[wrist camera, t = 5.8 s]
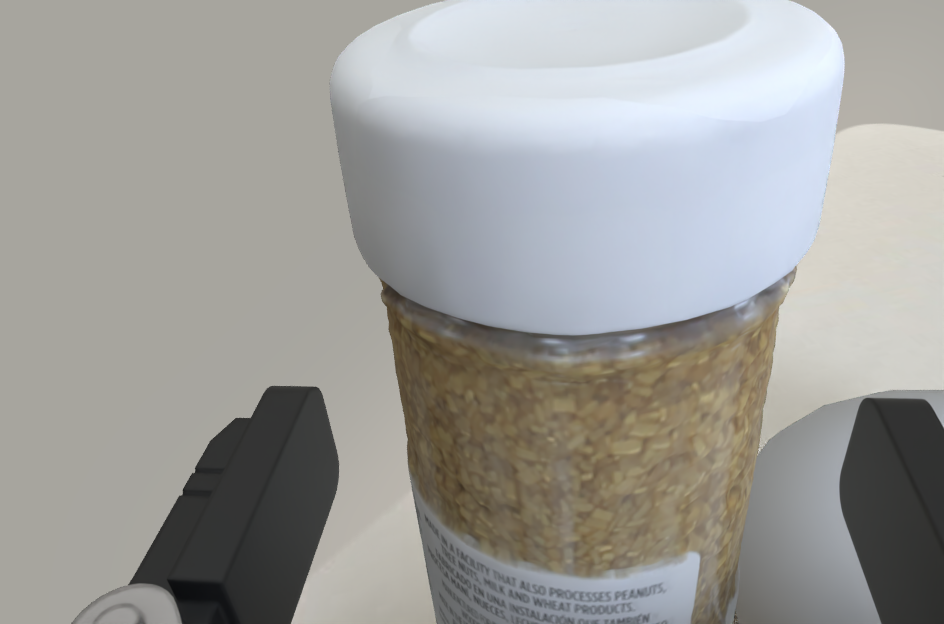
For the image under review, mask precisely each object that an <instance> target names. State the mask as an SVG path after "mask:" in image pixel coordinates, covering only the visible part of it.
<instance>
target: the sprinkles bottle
mask: <svg viewBox="0 0 944 624" xmlns="http://www.w3.org/2000/svg"><path fill="white" fill-rule="evenodd" d="M844 63H845V59H844V53H843V47H842V43H841V41H840V39H839V37H838V35H837V33H836V31H835V30H834V29H833V28H832V27H831V26H830V25H829V24H828V23H827V22H826V21H825V20H824V19H822V18H821V17H820V16H819V15H817V14H816V13H815V12H814V11H812V10H810V9H808V8H806V7H804V6H802V5H800V4H798V3H795V2H792V1H789V0H446V1H442V2H438V3H434V4H431V5H427V6H424V7H421V8H418V9H415V10H412V11H409V12H406V13H403V14H400V15H398V16H395V17H393V18H391V19H389V20H387V21H385V22H382V23H380V24H378V25H376V26H374V27H372V28H371V29H369V30H368V31H366V32H364V33H363V34H361V35H359V36H358V37H357V38H356V39H355V40H354V41H352V43H350V44H349V45H348V46H347V47H346V48H345V49H344V51H343V52H342V53H341V54H340V55H339V57H338V58H337V60H336V63H335V65H334V67H333V71H332V74H331V79H330V100H331V106H332V114H333V119H334V127H335V133H336V139H337V146H338V152H339V158H340V164H341V169H342V175H343V180H344V186H345V192H346V197H347V202H348V208H349V213H350V218H351V223H352V228H353V233H354V238H355V240H356V243H357V245H358V248H359V250H360V252H361V254H362V256H363V258H364V260H365V261H366V263H367V264H368V266H369V267H370V269H371V270H372V271H373V272H374V273H375V274H376V275H377V276H378V277H379V279H380V280H381V282H382V286H383V290H382V292H381V298H382V301H383V303H384V304H385V305H386V306H387V314H388V320H389V332H390V335H391V339H392V343H393V351H394V359H395V367H396V374H397V378H398V384H399V389H400V396H401V402H402V406H403V412H404V417H405V425H406V433H407V437H408V444H407V454H408V468H409V474H410V480H411V485H412V491H413V496H414V502H415V507H416V513H417V518H418V524H419V529H420V534H421V539H422V544H423V550H424V556H425V562H426V567H427V573H428V579H429V584H430V590H431V595H432V600H433V605H434V611H435V616H436V621H437V624H733V621H734V615H735V610H736V604H737V599H738V594H739V580H740V570H739V563H738V561H739V556H740V551H741V542H742V538H743V532H744V527H745V521H746V515H747V510H748V506H749V499H750V492H751V487H752V483H753V474H754V470H755V465H756V459H757V454H758V448H759V443H760V435H761V427H762V417H763V407H764V404H765V400H766V394H767V386H768V382H769V378H770V375H771V369H772V363H773V351H774V348H775V340H776V327H777V324H778V311H779V306H780V305H781V304H782V303H783V301H784V299H785V297H786V295H787V293H788V291H789V288H790V286H791V285H792V283H793V282H794V279H795V275H796V270H797V269H796V265H797V264H798V262H799V261H800V260H801V259H802V258H803V256H804V255H805V254H806V253H807V252H808V250H809V248H810V247H811V245H812V243H813V241H814V239H815V236H816V233H817V230H818V227H819V224H820V219H821V213H822V208H823V202H824V197H825V191H826V186H827V180H828V175H829V169H830V164H831V158H832V153H833V147H834V140H835V133H836V126H837V120H838V113H839V105H840V99H841V93H842V86H843V79H844V65H845V64H844Z"/></svg>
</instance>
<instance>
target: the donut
mask: <svg viewBox="0 0 944 624" xmlns="http://www.w3.org/2000/svg"><path fill="white" fill-rule="evenodd" d="M865 398H915V399H925V400H926V401H928V402H929V403H930V405H931V406H932V408H933V409H934V411H935V413H936V415H937V417H938V418H939V420H940V422H941V424H942V426H943V427H944V390H891V391H884V392H878V393H874V394H870V395H866V396H861V397H857V398H853V399H849V400H844V401H840V402H836V403H832V404H827V405H824V406H822V407H820V408H819V409H817V410H815V411H814V412H812V413H810V414H809V415H807V416H805V417H803V418H802V419H800V420H798V421H797V422H795V423H793V424H792V425H790V426H788V427H787V428H785V429H783V430H782V431H780V432H779V433H778V434H776V435H775V436H774V437H773V438H771V439H770V440H769V441H768V442H767V444H766V445H765V446H764V448H763V449H762V450H761V452H760V453H759V455H758V456H757V459H756V465H755V470H754V474H753V483H752V487H751V492H750V499H749V506H748V510H747V515H746V521H745V527H744V532H743V538H742V542H741V551H740V556H739V561H738V563H739V570H740V580H739V594H738V599H737V604H736V613H737V618H738V622H739V624H881V621H880V618H879V615H878V613H877V610H876V607H875V604H874V601H873V598H872V596H871V593H870V590H869V587H868V584H867V582H866V579H865V576H864V573H863V570H862V568H861V565H860V562H859V559H858V556H857V553H856V551H855V548H854V545H853V542H852V539H851V537H850V534H849V531H848V528H847V525H846V522H845V520H844V517H843V513H842V509H841V504H840V494H839V481H840V473H841V469H842V465H843V462H844V458H845V455H846V451H847V447H848V444H849V440H850V437H851V433H852V429H853V426H854V422H855V419H856V415H857V412H858V408H859V405H860V403H861V402H862V400H863V399H865Z"/></svg>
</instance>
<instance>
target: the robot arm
mask: <svg viewBox="0 0 944 624" xmlns="http://www.w3.org/2000/svg"><path fill="white" fill-rule="evenodd" d="M338 478H339V461H338V454H337V450H336V446H335V442H334V439H333V434H332V431H331V426H330V422H329V419H328V415H327V411H326V407H325V403H324V399H323V395H322V393H321V391H320V390H319V388H317V387H301V386H299V387H298V386H271V387H269V388H267V390H266V391H265V392H264V394H263V396H262V398H261V400H260V401H259V403H258V405H257V407H256V409H255V411H254V413H253V415H252V417H251V418H235V419H234V420H233V421H232V422H231V423H230V424H229V425H228V426H227V427H225V428H224V429H223V430H222V431H221V432H220V433H219V434H218V435H216V436H215V437H214V438H213V439H212V440H211V441H210V443H209V444H208V446H207V448H206V450H205V452H204V453H203V455H202V457H201V458H200V460H199V462H198V464H197V466H196V468H195V473H192V475H191V476H190V478H189V480H188V481H187V483H186V485H185V487H184V488H183V495H182V496H179V497H178V499H177V501H176V503H175V504H174V506H173V508H172V510H171V512H170V513H169V515H168V517H167V519H166V520H165V522H164V524H163V526H162V527H161V529H160V531H159V533H158V534H157V536H156V538H155V540H154V541H153V543H152V545H151V547H150V549H149V550H148V552H147V554H146V556H145V558H144V559H143V561H142V563H141V564H140V566H139V568H138V570H137V572H136V573H135V575H134V577H133V578H132V580H131V581H130V583H129V584H128V586H123V587H120V588H117V589H115V590H112V591H110V592H108V593H106V594H105V595H103V596H101V597H99V598H98V599H96V600H95V601H94V602H92V603H91V604H90V605H88V606H87V607H86V608H85V609H84V610H83V611H82V612H81V613H80V614H79V615H78V616H77V617H76V618H75V620H74V621H73V622H72V623H71V624H291V621H292V618H293V616H294V613H295V610H296V607H297V604H298V601H299V598H300V595H301V593H302V590H303V587H304V584H305V581H306V578H307V575H308V572H309V570H310V567H311V564H312V561H313V558H314V555H315V552H316V549H317V546H318V544H319V541H320V538H321V535H322V532H323V529H324V526H325V524H326V521H327V518H328V515H329V512H330V509H331V506H332V503H333V500H334V498H335V494H336V491H337V485H338ZM839 494H840V504H841V509H842V513H843V517H844V520H845V522H846V525H847V528H848V531H849V534H850V537H851V539H852V542H853V545H854V548H855V551H856V553H857V556H858V559H859V562H860V565H861V568H862V570H863V573H864V576H865V579H866V582H867V584H868V587H869V590H870V593H871V596H872V598H873V601H874V604H875V607H876V610H877V613H878V615H879V618H880V621H881V624H944V427H943V426H942V424H941V422H940V420H939V418H938V417H937V415H936V413H935V411H934V409H933V408H932V406H931V405H930V403H929V402H928V401H926V400H925V399H915V398H865V399H863V400H862V402H861V403H860V405H859V408H858V412H857V415H856V419H855V422H854V426H853V429H852V433H851V437H850V440H849V444H848V447H847V451H846V455H845V458H844V462H843V465H842V469H841V473H840V481H839Z"/></svg>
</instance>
